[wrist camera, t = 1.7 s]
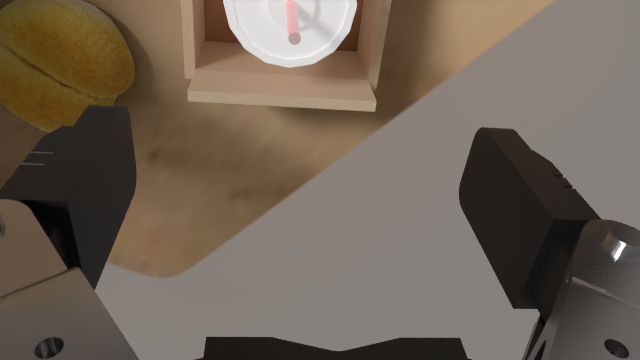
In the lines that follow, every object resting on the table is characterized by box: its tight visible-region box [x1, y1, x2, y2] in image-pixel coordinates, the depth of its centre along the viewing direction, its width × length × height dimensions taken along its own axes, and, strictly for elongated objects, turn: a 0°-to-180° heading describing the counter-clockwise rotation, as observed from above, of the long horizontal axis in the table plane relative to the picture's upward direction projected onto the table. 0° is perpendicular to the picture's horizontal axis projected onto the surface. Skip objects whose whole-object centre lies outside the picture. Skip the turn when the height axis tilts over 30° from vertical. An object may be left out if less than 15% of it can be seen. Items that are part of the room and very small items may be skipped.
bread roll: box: [0, 0, 135, 133], centre depth 31 cm, size 8×9×4 cm
